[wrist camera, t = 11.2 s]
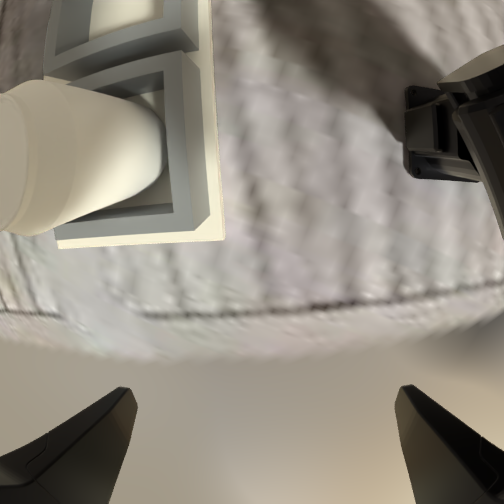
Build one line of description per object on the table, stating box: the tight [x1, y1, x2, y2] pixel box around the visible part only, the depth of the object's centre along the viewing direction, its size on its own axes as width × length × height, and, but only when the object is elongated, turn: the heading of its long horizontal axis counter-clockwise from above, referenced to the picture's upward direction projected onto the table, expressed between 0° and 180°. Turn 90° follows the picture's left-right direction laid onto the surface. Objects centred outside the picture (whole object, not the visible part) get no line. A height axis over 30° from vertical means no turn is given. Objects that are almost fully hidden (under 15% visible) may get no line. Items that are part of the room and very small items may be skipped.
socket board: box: [43, 0, 226, 249], centre depth 15 cm, size 14×24×5 cm, turn 4°
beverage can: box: [0, 80, 168, 236], centre depth 12 cm, size 6×6×12 cm
